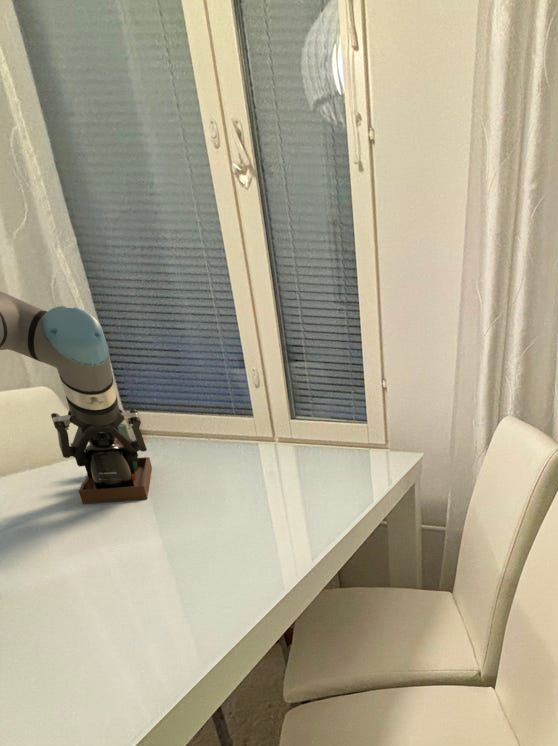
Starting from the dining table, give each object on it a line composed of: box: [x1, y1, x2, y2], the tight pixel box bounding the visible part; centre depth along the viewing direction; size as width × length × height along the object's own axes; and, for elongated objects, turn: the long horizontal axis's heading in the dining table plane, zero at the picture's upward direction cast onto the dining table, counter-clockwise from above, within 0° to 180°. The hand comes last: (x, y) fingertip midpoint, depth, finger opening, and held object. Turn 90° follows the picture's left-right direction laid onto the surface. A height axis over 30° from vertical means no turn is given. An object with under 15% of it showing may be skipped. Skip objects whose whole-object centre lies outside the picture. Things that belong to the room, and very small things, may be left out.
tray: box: [77, 456, 153, 505], centre depth 120 cm, size 11×29×3 cm, turn 26°
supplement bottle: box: [85, 432, 134, 489], centre depth 111 cm, size 7×7×12 cm
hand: (110, 470), depth 114 cm, fingers closed on supplement bottle, 7 cm apart
